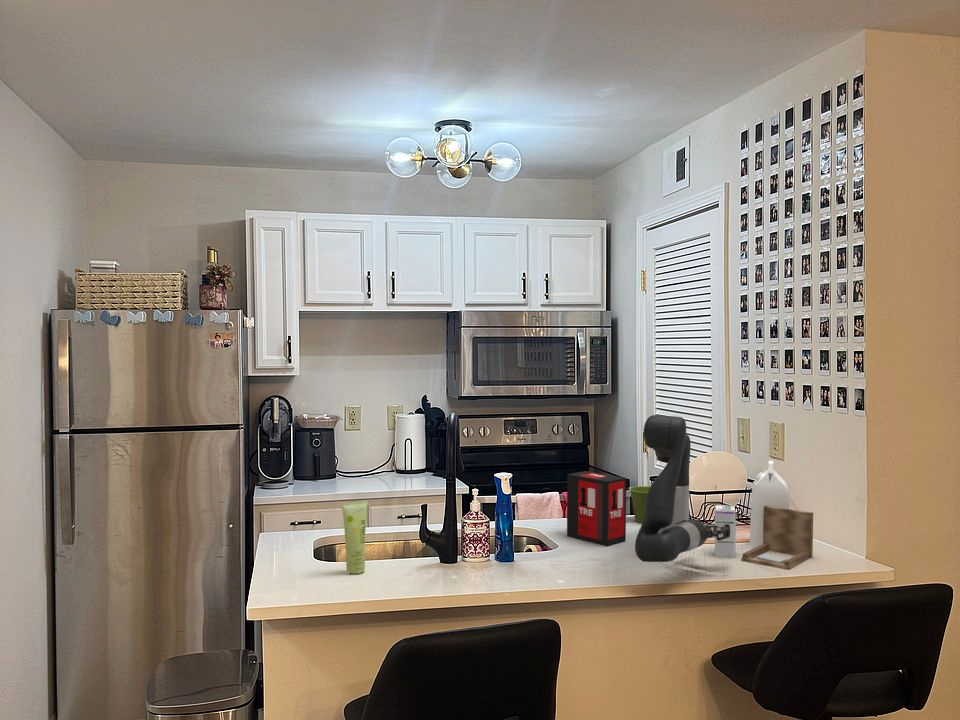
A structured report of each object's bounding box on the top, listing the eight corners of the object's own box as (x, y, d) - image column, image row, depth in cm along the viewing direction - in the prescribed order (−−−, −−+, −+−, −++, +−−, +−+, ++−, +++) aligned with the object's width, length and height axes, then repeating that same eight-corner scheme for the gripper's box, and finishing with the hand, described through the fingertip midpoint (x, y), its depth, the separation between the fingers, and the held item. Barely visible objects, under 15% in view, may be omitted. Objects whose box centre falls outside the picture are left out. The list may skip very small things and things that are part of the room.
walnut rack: (740, 564, 242) (741, 515, 241) (764, 552, 255) (765, 505, 254) (789, 574, 233) (790, 523, 232) (812, 560, 246) (813, 512, 245)
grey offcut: (756, 559, 242) (756, 556, 242) (764, 557, 245) (764, 553, 245) (779, 565, 237) (779, 561, 237) (787, 562, 240) (787, 559, 240)
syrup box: (735, 560, 245) (736, 509, 244) (714, 558, 246) (715, 508, 246) (734, 554, 250) (735, 505, 250) (713, 553, 252) (714, 504, 251)
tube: (359, 576, 231) (358, 504, 230) (342, 574, 232) (341, 503, 231) (368, 570, 236) (367, 500, 235) (351, 568, 237) (350, 498, 237)
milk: (789, 553, 253) (791, 466, 252) (749, 550, 257) (750, 464, 256) (789, 543, 265) (790, 460, 264) (750, 540, 269) (751, 458, 267)
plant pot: (667, 525, 288) (667, 492, 287) (632, 525, 288) (632, 492, 287) (659, 517, 300) (659, 485, 299) (625, 517, 299) (625, 485, 299)
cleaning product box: (625, 541, 267) (626, 478, 266) (607, 546, 261) (607, 481, 260) (585, 531, 279) (585, 471, 278) (566, 536, 273) (567, 474, 272)
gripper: (711, 526, 225) (738, 515, 237) (663, 518, 234) (690, 508, 246) (711, 554, 225) (737, 542, 237) (662, 545, 234) (690, 534, 246)
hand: (713, 525), depth 242 cm, fingers open, 8 cm apart
